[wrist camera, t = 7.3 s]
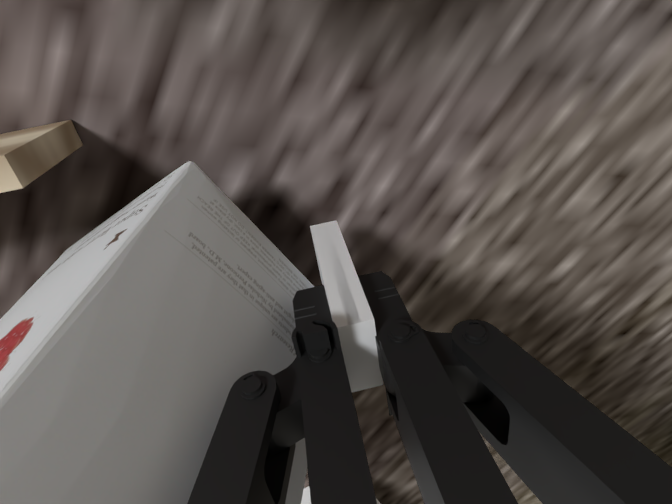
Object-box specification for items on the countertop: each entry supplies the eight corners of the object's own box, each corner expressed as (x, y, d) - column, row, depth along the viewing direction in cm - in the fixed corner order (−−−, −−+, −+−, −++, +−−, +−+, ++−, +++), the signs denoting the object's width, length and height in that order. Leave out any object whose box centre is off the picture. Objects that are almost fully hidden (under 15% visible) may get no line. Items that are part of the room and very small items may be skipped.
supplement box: (192, 149, 14) (-633, 1139, 3) (342, 307, 18) (239, 954, 7) (58, 248, 18) (-493, 813, 7) (205, 358, 23) (7, 819, 11)
